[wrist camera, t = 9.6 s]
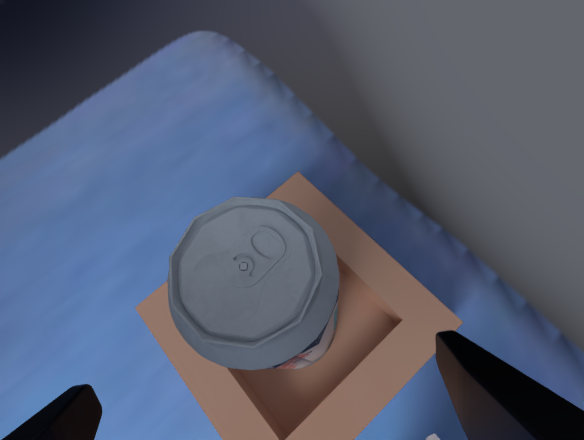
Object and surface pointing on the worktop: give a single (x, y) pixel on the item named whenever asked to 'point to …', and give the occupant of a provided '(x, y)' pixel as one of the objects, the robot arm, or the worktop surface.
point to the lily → (432, 437)
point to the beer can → (255, 285)
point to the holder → (340, 356)
